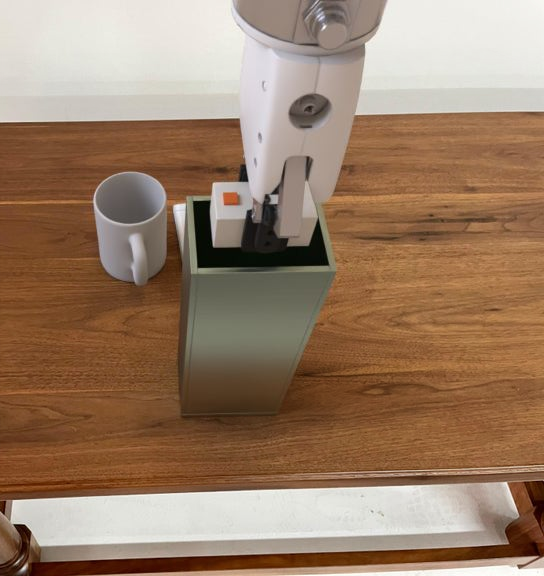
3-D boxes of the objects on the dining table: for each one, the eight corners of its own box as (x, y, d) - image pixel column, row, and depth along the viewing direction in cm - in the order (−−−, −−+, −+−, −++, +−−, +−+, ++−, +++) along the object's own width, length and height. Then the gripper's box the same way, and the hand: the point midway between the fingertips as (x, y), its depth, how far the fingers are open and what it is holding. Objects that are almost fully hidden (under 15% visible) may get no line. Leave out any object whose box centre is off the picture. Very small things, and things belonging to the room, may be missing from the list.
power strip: (308, 246, 44) (319, 214, 41) (213, 248, 44) (216, 216, 41) (301, 210, 46) (310, 177, 43) (209, 211, 46) (213, 179, 43)
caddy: (268, 354, 69) (319, 193, 47) (276, 415, 65) (337, 270, 43) (177, 355, 69) (186, 195, 47) (180, 417, 65) (191, 273, 43)
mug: (96, 235, 79) (88, 175, 70) (160, 226, 80) (160, 166, 71) (108, 311, 73) (101, 256, 64) (177, 300, 73) (180, 244, 64)
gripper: (434, 91, 25) (329, 321, 40) (352, -97, 34) (293, 147, 49) (253, 94, 25) (217, 323, 40) (220, -96, 34) (201, 149, 49)
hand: (259, 224), depth 44 cm, fingers closed on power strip, 3 cm apart
